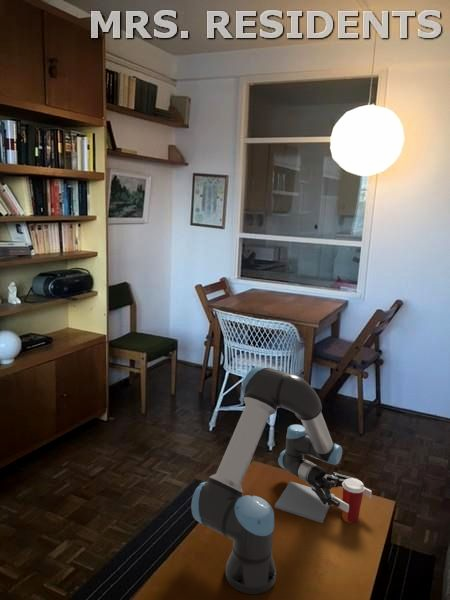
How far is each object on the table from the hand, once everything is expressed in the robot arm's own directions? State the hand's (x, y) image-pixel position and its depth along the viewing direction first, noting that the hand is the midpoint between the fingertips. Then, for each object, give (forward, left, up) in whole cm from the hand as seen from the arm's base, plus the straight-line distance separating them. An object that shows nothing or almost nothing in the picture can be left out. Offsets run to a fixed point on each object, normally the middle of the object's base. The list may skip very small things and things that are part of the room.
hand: (359, 501), depth 172 cm
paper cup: (-2, +3, -9) cm, 9 cm away
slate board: (-15, +14, -8) cm, 22 cm away
